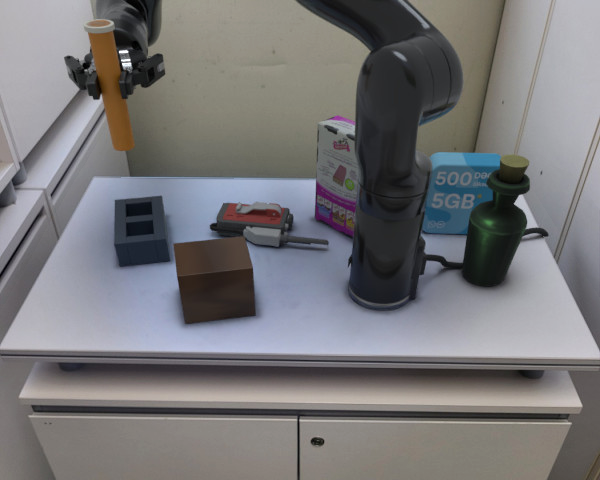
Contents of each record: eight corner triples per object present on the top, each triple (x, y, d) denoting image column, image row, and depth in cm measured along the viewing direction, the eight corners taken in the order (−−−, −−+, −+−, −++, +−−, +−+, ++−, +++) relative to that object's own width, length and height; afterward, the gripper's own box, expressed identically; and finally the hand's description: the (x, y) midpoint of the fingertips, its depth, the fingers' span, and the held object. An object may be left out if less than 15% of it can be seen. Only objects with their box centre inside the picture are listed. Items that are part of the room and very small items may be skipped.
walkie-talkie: (206, 242, 97) (327, 254, 95) (203, 217, 93) (328, 229, 91) (220, 215, 103) (333, 225, 101) (217, 191, 99) (335, 201, 97)
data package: (420, 233, 99) (432, 164, 90) (417, 219, 102) (429, 151, 93) (491, 235, 99) (511, 165, 90) (486, 221, 102) (505, 153, 93)
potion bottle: (493, 257, 94) (526, 144, 81) (519, 286, 89) (558, 171, 76) (447, 264, 93) (472, 150, 80) (470, 294, 88) (502, 178, 74)
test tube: (136, 140, 84) (114, 18, 73) (137, 151, 81) (113, 27, 70) (111, 142, 83) (83, 19, 72) (110, 153, 81) (82, 28, 70)
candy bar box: (380, 233, 99) (393, 134, 87) (360, 244, 97) (370, 144, 85) (333, 208, 104) (338, 112, 93) (313, 218, 102) (315, 121, 90)
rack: (165, 217, 102) (161, 195, 99) (170, 261, 93) (166, 238, 90) (119, 221, 101) (114, 199, 98) (119, 266, 92) (114, 244, 89)
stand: (247, 282, 89) (244, 235, 83) (255, 315, 84) (253, 267, 78) (181, 290, 88) (173, 243, 82) (185, 324, 82) (176, 276, 76)
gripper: (63, 18, 83) (42, 60, 71) (165, 16, 84) (160, 57, 72) (78, 76, 88) (60, 123, 76) (172, 73, 89) (169, 120, 78)
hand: (109, 91), depth 74 cm, fingers closed on test tube, 3 cm apart
